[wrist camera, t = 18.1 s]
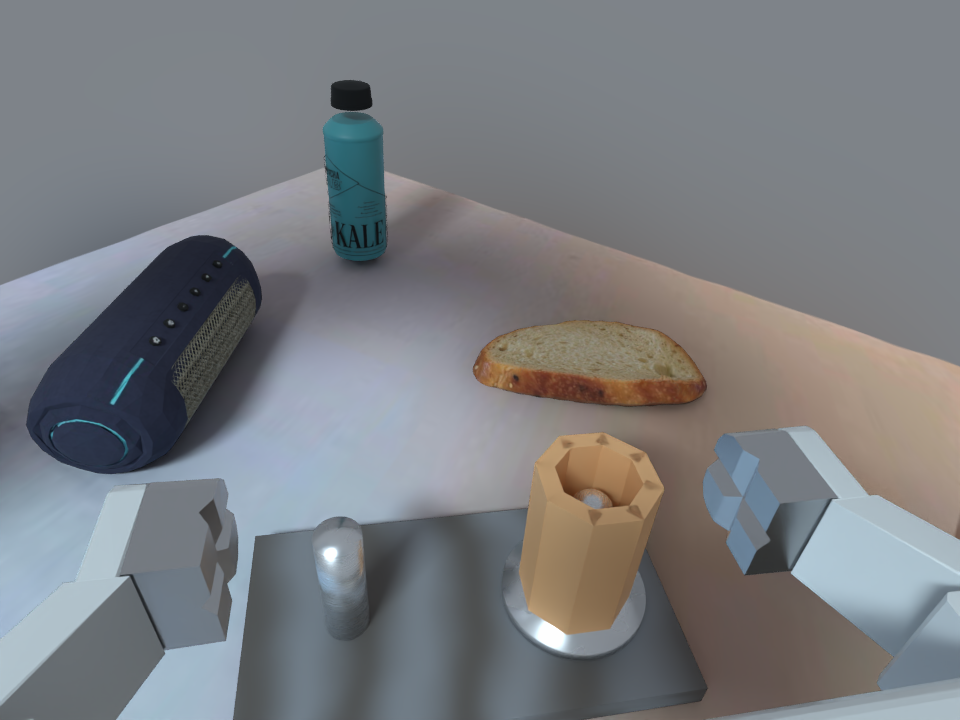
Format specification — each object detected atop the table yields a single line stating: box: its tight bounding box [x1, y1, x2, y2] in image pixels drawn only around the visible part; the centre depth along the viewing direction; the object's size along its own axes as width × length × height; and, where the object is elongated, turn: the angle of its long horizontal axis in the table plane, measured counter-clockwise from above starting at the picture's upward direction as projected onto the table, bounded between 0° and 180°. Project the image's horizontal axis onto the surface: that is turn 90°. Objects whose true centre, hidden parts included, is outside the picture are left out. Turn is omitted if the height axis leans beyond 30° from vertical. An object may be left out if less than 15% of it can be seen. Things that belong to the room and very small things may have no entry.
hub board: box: [233, 489, 708, 720], centre depth 38 cm, size 26×14×11 cm, turn 100°
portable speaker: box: [26, 235, 262, 474], centre depth 55 cm, size 25×10×10 cm, turn 176°
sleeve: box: [519, 432, 664, 635], centre depth 38 cm, size 6×6×10 cm
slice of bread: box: [473, 320, 707, 406], centre depth 61 cm, size 18×18×4 cm
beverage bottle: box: [323, 80, 388, 261], centre depth 71 cm, size 6×7×20 cm
